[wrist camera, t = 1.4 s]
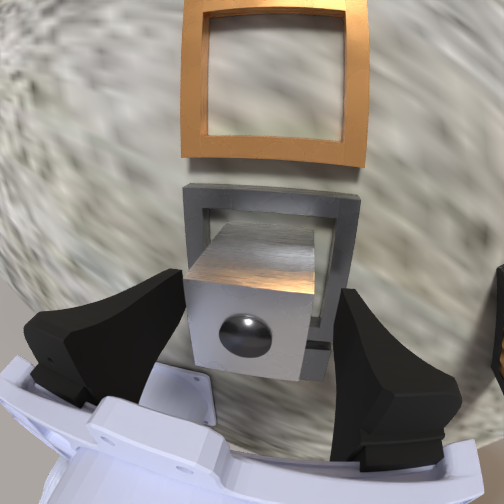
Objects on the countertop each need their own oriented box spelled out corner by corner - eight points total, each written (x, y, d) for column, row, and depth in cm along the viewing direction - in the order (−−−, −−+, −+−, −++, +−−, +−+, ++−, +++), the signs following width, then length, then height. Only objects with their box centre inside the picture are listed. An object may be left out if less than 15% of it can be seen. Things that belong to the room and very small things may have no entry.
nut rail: (205, 354, 20) (200, 364, 19) (196, -43, 9) (189, -50, 8) (322, 370, 18) (322, 381, 18) (356, -46, 7) (359, -55, 6)
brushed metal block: (229, 292, 17) (194, 367, 12) (227, 221, 15) (181, 280, 10) (305, 301, 16) (298, 384, 11) (314, 228, 14) (314, 296, 9)
